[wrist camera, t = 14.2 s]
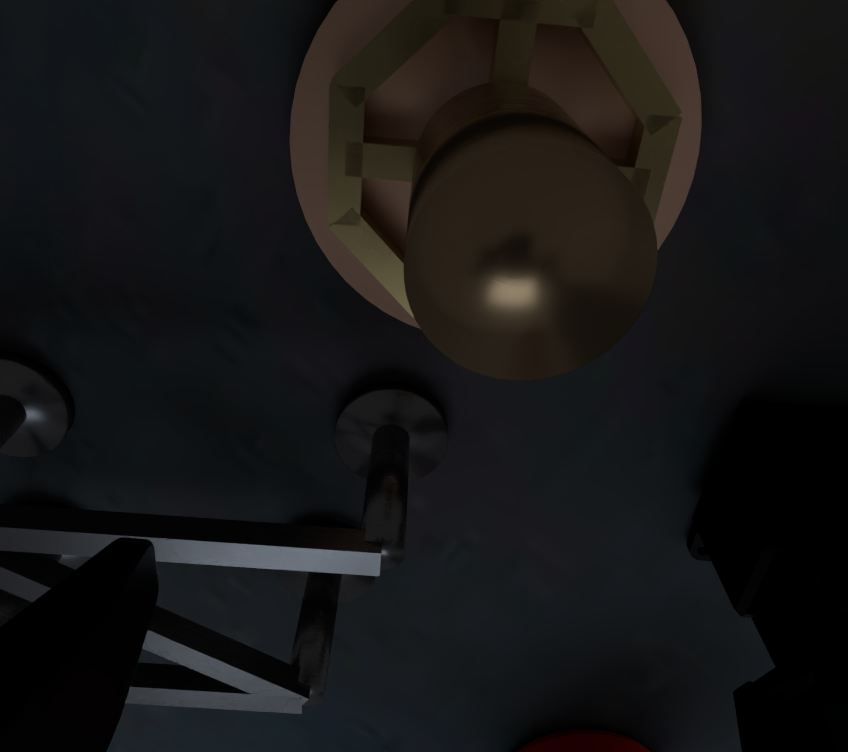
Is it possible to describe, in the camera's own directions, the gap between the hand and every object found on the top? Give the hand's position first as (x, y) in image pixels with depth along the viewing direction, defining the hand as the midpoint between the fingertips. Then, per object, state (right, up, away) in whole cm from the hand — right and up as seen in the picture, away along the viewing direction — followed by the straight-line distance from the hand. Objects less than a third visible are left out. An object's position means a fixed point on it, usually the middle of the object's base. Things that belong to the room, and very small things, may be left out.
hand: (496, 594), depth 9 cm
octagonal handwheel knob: (+1, +8, +8) cm, 11 cm away
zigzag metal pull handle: (-8, -1, +14) cm, 17 cm away
